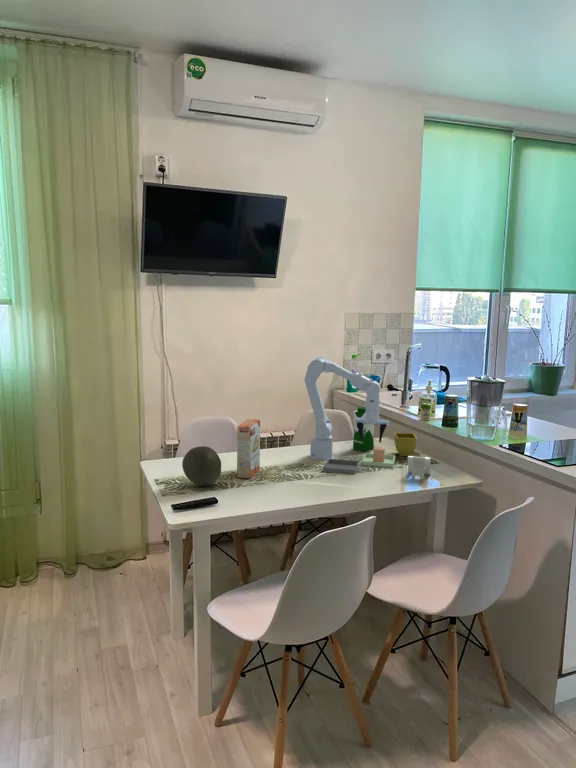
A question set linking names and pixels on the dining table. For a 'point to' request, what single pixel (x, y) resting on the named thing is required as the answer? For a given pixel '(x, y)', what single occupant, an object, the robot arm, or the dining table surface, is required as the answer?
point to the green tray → (388, 462)
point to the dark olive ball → (202, 466)
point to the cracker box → (248, 448)
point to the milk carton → (367, 433)
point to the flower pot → (405, 443)
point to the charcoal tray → (341, 466)
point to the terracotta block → (378, 454)
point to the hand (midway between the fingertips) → (371, 440)
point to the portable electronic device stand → (418, 466)
